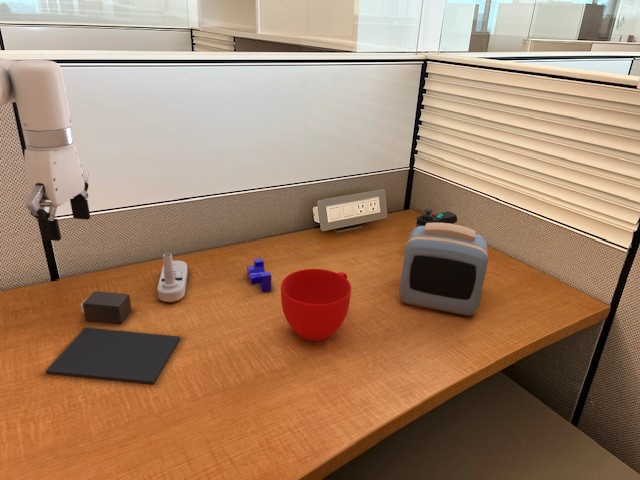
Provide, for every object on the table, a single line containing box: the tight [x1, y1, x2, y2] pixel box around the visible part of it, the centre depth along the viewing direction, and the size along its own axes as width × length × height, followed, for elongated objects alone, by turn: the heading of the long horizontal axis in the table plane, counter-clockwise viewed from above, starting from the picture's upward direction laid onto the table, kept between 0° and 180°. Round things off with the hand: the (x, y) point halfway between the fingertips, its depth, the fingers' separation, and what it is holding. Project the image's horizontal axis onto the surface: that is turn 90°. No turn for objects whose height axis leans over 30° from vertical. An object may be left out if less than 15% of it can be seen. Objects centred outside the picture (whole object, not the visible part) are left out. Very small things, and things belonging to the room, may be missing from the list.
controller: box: [415, 208, 459, 227], centre depth 128 cm, size 4×12×10 cm, turn 118°
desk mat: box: [45, 327, 181, 385], centre depth 83 cm, size 18×12×1 cm, turn 85°
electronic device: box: [156, 252, 189, 303], centre depth 103 cm, size 5×10×15 cm
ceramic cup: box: [280, 268, 352, 342], centre depth 91 cm, size 13×17×10 cm
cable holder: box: [246, 258, 272, 293], centre depth 106 cm, size 8×4×4 cm, turn 20°
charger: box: [80, 290, 132, 325], centre depth 92 cm, size 8×4×4 cm, turn 85°
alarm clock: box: [398, 223, 489, 317], centre depth 103 cm, size 16×16×16 cm
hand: (67, 228), depth 89 cm, fingers open, 9 cm apart
